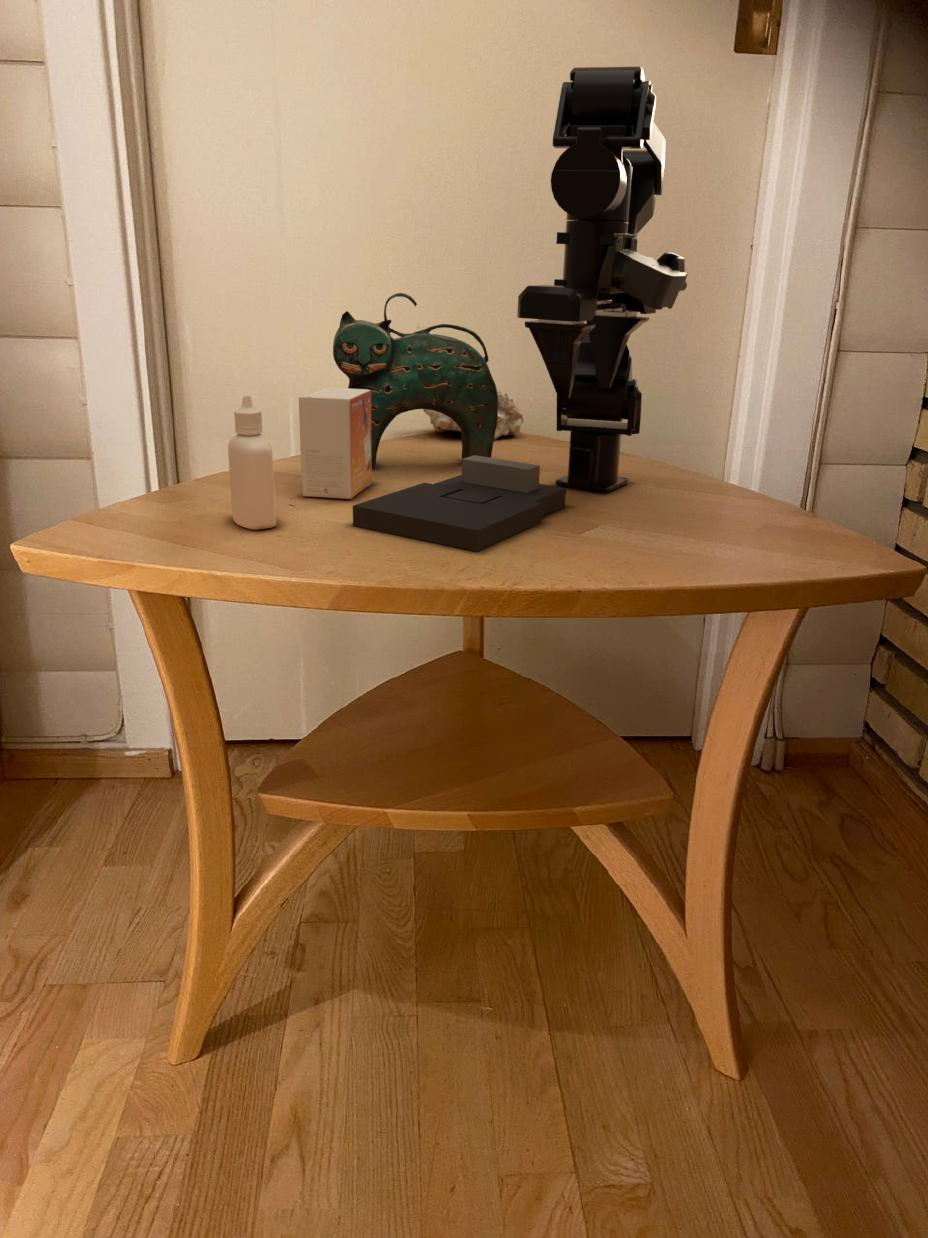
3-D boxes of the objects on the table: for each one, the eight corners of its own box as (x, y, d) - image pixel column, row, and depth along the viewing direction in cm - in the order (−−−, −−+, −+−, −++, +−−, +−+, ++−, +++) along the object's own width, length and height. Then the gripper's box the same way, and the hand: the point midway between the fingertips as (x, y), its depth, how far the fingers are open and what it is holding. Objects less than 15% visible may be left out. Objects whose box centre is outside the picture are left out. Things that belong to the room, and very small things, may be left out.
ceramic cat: (337, 472, 113) (332, 293, 105) (331, 461, 118) (326, 289, 111) (500, 467, 117) (506, 295, 110) (486, 456, 123) (492, 292, 116)
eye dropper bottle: (279, 515, 95) (273, 391, 90) (275, 531, 90) (268, 400, 85) (234, 515, 94) (225, 391, 90) (227, 531, 89) (218, 400, 85)
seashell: (420, 421, 130) (431, 353, 132) (413, 445, 139) (424, 381, 141) (523, 442, 132) (534, 375, 133) (510, 464, 141) (520, 401, 143)
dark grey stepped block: (468, 489, 106) (469, 449, 105) (565, 506, 101) (567, 464, 99) (412, 509, 98) (412, 465, 96) (514, 529, 92) (516, 483, 90)
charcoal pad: (424, 500, 101) (424, 482, 101) (541, 522, 94) (542, 502, 94) (352, 525, 92) (352, 505, 91) (476, 551, 85) (477, 530, 84)
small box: (351, 500, 101) (349, 399, 97) (300, 497, 102) (297, 396, 98) (373, 483, 108) (372, 388, 104) (326, 480, 109) (323, 385, 105)
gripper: (638, 218, 77) (622, 414, 83) (715, 225, 92) (696, 391, 98) (518, 217, 83) (510, 400, 88) (608, 224, 98) (597, 381, 103)
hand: (585, 393), depth 94 cm, fingers open, 9 cm apart
